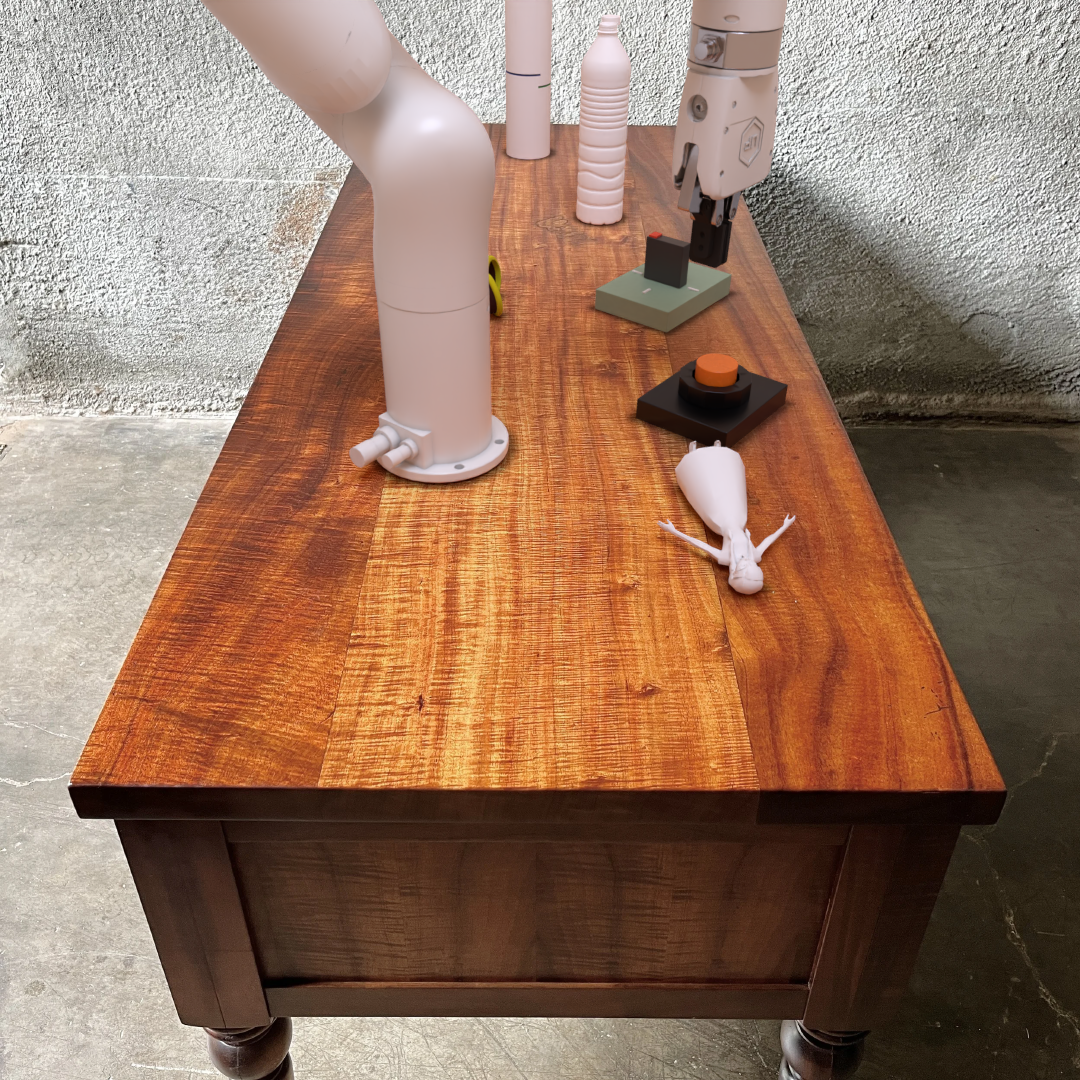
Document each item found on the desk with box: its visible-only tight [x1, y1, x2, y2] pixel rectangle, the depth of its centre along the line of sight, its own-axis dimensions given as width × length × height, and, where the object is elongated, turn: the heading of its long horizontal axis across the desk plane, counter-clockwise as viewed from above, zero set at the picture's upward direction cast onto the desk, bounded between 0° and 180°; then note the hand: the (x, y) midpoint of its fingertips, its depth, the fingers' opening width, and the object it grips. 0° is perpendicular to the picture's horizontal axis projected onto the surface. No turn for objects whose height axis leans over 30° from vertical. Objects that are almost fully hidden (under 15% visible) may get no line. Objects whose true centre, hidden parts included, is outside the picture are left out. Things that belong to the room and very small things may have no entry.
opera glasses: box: [488, 254, 504, 317], centre depth 121 cm, size 10×5×5 cm, turn 3°
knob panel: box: [594, 261, 733, 333], centre depth 123 cm, size 14×10×3 cm
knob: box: [644, 231, 690, 288], centre depth 121 cm, size 5×2×5 cm, turn 51°
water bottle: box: [575, 13, 632, 226], centre depth 139 cm, size 9×6×25 cm
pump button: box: [695, 352, 739, 387], centre depth 100 cm, size 4×4×2 cm
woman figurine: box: [656, 440, 796, 595], centre depth 86 cm, size 12×4×18 cm
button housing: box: [635, 357, 789, 449], centre depth 102 cm, size 12×10×4 cm
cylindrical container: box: [504, 0, 553, 160], centre depth 162 cm, size 7×7×25 cm
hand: (707, 261), depth 96 cm, fingers closed
